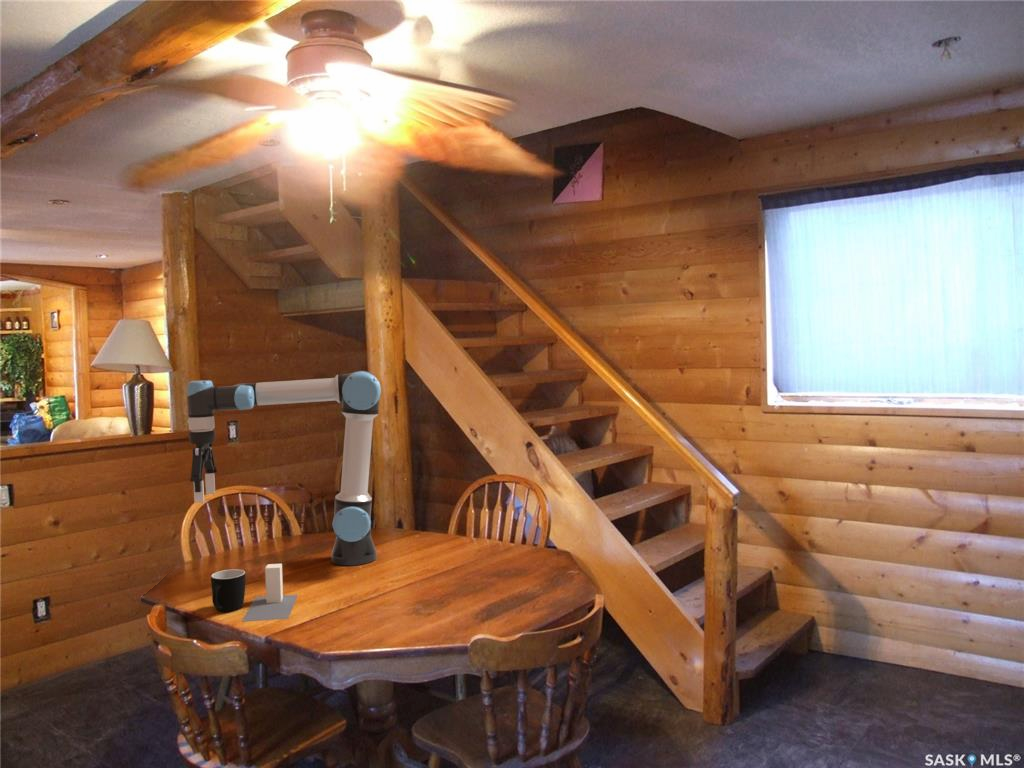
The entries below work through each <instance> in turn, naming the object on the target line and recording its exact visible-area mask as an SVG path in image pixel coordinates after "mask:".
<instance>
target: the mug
mask: <svg viewBox="0 0 1024 768" xmlns="http://www.w3.org/2000/svg"><path fill="white" fill-rule="evenodd" d="M210 581H211V582H210V584H211V594H212V595H211V596H212V597H211V598H212V599H211V600H212V602H211V603H212V604H213V606H214V607H215V610H216V611H217V612H218V613H232V612H233V613H234V612H237V611H239V610H241V609H242V608H243V606H244V601H245V594H246V571H245V570H243V569H239V568H238V569H237V568H235V569H224V570H220V571H216V572H214V573H212V574H211V575H210Z"/></svg>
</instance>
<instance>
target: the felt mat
mask: <svg viewBox="0 0 1024 768" xmlns="http://www.w3.org/2000/svg"><path fill="white" fill-rule="evenodd" d="M298 596H299V594H289V595H287V594H285V595H284V594H283V599H282V601H281V602H276V603H266V596H256V597H254V600H253V601H252V603H251V604H250V606H249V608H248V610H247V612H246V613H245V615H244V616H243V619H242V620H241V622H243V623H244V622H257V621H272V620H273V621H274V620H288V619H289V618H290V615H291V614H292V610H293V609H294V606H295V603H296V601H297V599H298Z"/></svg>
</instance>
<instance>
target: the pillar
mask: <svg viewBox="0 0 1024 768" xmlns="http://www.w3.org/2000/svg"><path fill="white" fill-rule="evenodd" d="M264 572H265V573H264V576H265V597H266V603H276V602H281V601H282V599H283V595H284V591H283V589H284V587H283V585H284V583H283V563H270V564H269V563H268V564H267V565H266V566H265V569H264Z"/></svg>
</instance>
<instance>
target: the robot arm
mask: <svg viewBox="0 0 1024 768" xmlns="http://www.w3.org/2000/svg"><path fill="white" fill-rule="evenodd" d="M186 386H187V387H186V400H187V401H186V402H187V403H186V404H187V420H186V423H187V424H188V430H189V432H188V442H189V444H191V445H195V447H194V448H192V462H191V472H190V473H191V475H190V478H189V481H190V483H192V482H193V483H192V484H193V499H194V500H193V501H194V504H195V503H197V504H200V503H205V495H215V494H216V481H215V480H216V479H215V477H216V476H215V474H216V473H218V469H217V467H216V465H217V464H216V461H215V456H214V454H215V453H214V449H213V443H214V442H215V443H216V431H215V430H214V429H215V427H216V424H215V411H216V412H217V411H237V410H239V411H243V410H244V411H245V410H251V409H253V408H254V407H256V406H257V407H258V406H270V405H271V406H272V405H283V404H285V405H286V404H288V405H289V404H299V403H300V404H301V403H315V402H330V401H336V402H337V403H338V404H341V414H343V416H344V417H345V426H344V427H345V428H344V439H343V456H342V467H341V469H342V470H341V483H340V492H339V493H337V494H336V495H335V497H334V509H333V519H332V524H331V525H332V528H333V529H332V530H333V531H334V534H335V541H334V544H333V548H332V551H331V554H330V556H331V557H330V558H331V560H330V561H331V562H332V563H333V564H335V565H339V566H357V565H358V566H359V565H360V566H361V565H365V564H369V563H372V562H374V561H376V560H377V558H378V557H377V549H376V546H375V544H374V541H373V538H372V528H371V527H372V521H371V518H372V517H371V514H372V506H373V505H372V503H373V501H372V500H373V497H372V496H371V495H370V493H369V492H368V491H369V479H370V469H371V468H370V467H371V466H370V465H371V453H372V438H373V428H374V427H373V426H374V419H375V418H376V417H378V415H379V410H380V397H381V393H382V388H381V383H380V382H379V380H378V378H377V376H376V375H375V374H373V373H371V372H370V371H367V370H358V371H354V372H350V373H349V372H348V373H344V374H336V375H335V377H331V378H330V377H329V378H313V379H296V380H280V381H263V382H249V383H245V382H240V383H239V382H238V383H237V384H234V385H225V386H224V385H223V386H215V385H214V384H213V381H212V380H209V379H208V380H205V379H204V380H190V381H188V383H187V385H186ZM204 470H205V474H204ZM203 476H204V478H205V479H204V480H203ZM204 481H205V486H204ZM204 487H205V489H204ZM204 490H205V491H204Z"/></svg>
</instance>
